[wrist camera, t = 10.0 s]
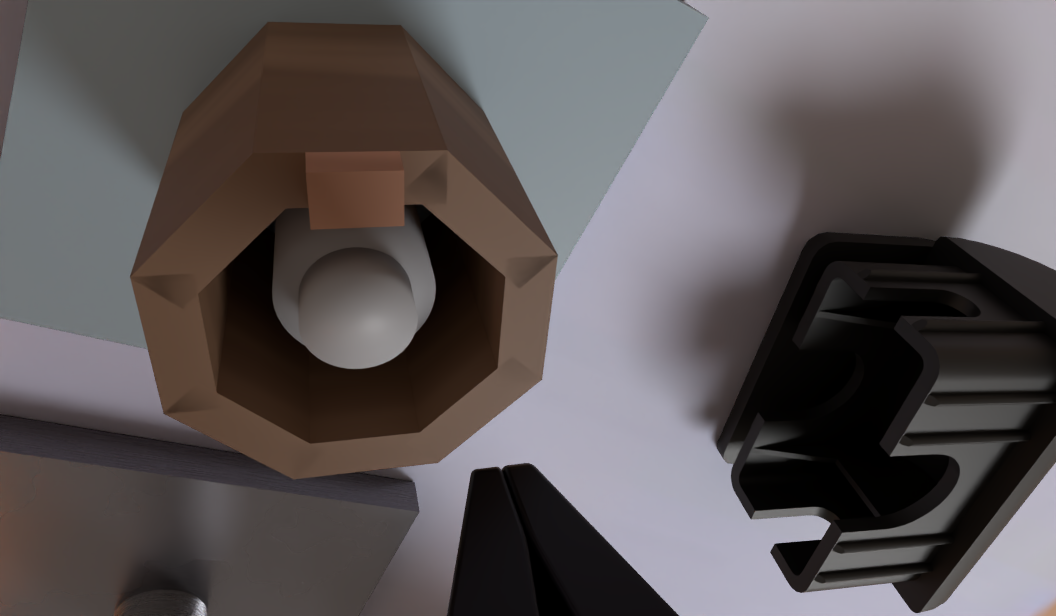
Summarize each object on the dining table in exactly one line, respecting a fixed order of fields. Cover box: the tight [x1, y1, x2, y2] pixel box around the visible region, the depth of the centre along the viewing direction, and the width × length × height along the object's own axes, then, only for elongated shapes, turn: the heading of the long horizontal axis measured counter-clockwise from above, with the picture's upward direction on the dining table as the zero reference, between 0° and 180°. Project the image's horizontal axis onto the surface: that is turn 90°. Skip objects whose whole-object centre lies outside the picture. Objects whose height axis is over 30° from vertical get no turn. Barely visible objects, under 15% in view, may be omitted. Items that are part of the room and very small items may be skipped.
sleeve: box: [130, 22, 558, 479], centre depth 14 cm, size 6×6×7 cm
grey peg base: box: [0, 0, 709, 369], centre depth 15 cm, size 12×12×7 cm
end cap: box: [717, 232, 1056, 613], centre depth 23 cm, size 10×7×7 cm
